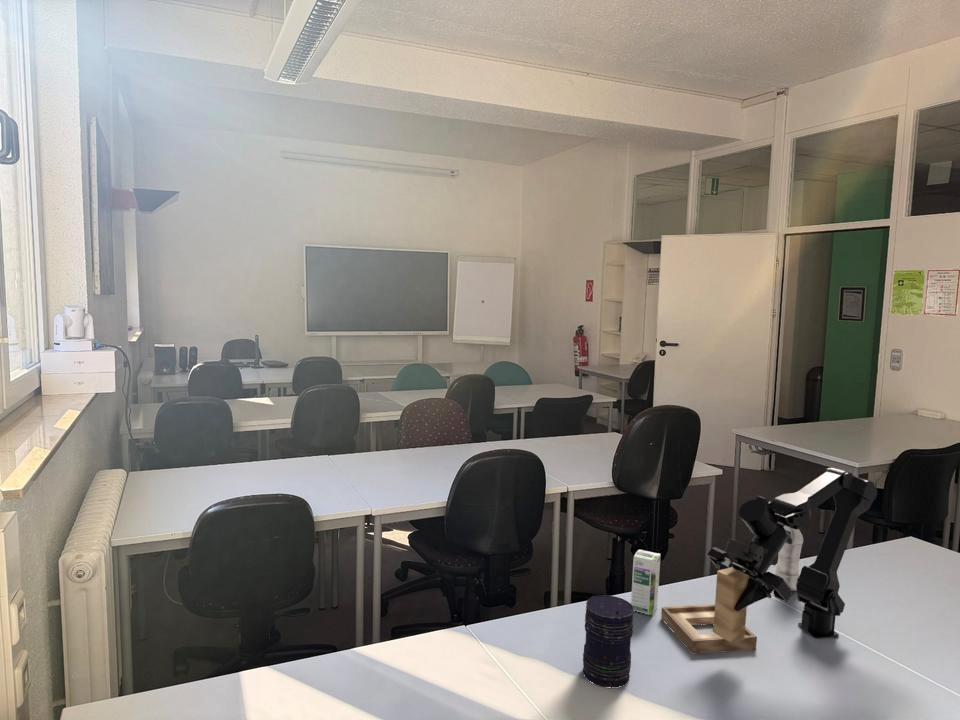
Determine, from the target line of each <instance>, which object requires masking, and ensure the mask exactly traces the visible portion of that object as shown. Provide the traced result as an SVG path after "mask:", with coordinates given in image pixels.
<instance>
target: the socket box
mask: <svg viewBox="0 0 960 720" xmlns="http://www.w3.org/2000/svg"><path fill="white" fill-rule="evenodd" d="M660 614H661V615H660V616H661V617H660V619H661V618H662V619H663V620H664V621H665V622H666V623H667V625H668V626H669V627H670V628H671V629H672V630H673V631H674V633H675V634H676V635H677V636H678V637H679V638H678V637H677V636H676V635H675V634H674V633H673V634H674V635H675V636H676V637H677V638H678V639H680V640H681V641H682V642H683V643H684V644H685V645H686V646H687V647H686V646H685V645H684V644H683V643H682V642H681V643H682V644H683V645H684V646H685V647H686V648H687V650H688V649H689V650H690V651H691V652H692V653H697V654H706V653H705V652H712V653H723V652H722V651H727V652H740V651H751V650H757V641H758V637H757V635H756V634H755V633H753V632H752V631H751V630H750V629H749V628H748V627H747V626H745V637H744V638H741V639H738V640H735V641H732V642H729V641H727V640H725V639H724V638H722V637H720V636H719V635H717V634H715V633H707V634H701V633H700V632H698V631H697V629H696V628H695V627H694V626H692V625H699V626H704V625H703V624H714V614H715V603H713V604H701V605H700V604H699V605H698V604H697V605H679V606H663V607H661V612H660ZM662 619H661V620H662ZM663 620H662V621H663ZM701 624H702V625H701ZM667 625H666V626H667ZM668 626H667V627H668ZM669 627H668V628H669ZM670 628H669V629H670ZM671 629H670V630H671ZM680 640H679V641H680ZM689 650H688V651H689ZM690 651H689V652H690ZM691 652H690V653H691ZM701 652H702V653H701ZM692 653H691V654H692Z"/></svg>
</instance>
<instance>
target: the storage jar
mask: <svg viewBox="0 0 960 720" xmlns="http://www.w3.org/2000/svg"><path fill="white" fill-rule="evenodd" d="M585 604H586V605H585V606H586V607H585V615H584V630H585V643H584V645H583V655H582V663H583V664H582V665H583V666H582V675H583V674H584V675H585V677H586V678H587V679H588V680H589V681H591V682H593V683H594V684H596V685H595V686H597V685H599V686H598V687H600V686H602V687H601V688H603V687H611V688H610V689H613V688H612V687H619V686H623V685H625V684H626V683H627V682H628V681H630V679H631V675H630V673H631V667H632V653H631V652H632V651H631V643H632V642H631V639H632V637H633V635H634V634H633V633H634V630H633V629H634V613H635V611H634V608H633V606H632V605H631V602H629V601H627V600H626V599H623V598H622V597H617V596H616V595H615V596H614V595H607V594H605V595H604V594H603V595H602V594H601V595H593V596H591V597H589V598H588V599H587V600H586V603H585ZM584 675H583V676H584ZM585 677H584V678H585ZM586 678H585V679H586ZM629 678H630V679H629ZM587 679H586V680H587ZM588 680H587V681H588ZM589 681H588V682H589ZM591 682H590V683H591ZM628 683H629V682H628ZM628 683H627V684H628ZM594 684H593V685H594ZM627 684H626V685H627ZM626 685H625V686H626ZM623 687H624V686H623Z"/></svg>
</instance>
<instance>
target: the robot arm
mask: <svg viewBox="0 0 960 720" xmlns="http://www.w3.org/2000/svg"><path fill="white" fill-rule="evenodd" d="M877 496H878V489H877V487H876V486H875V483H874V482H873V481H872V480H868V479H865V478H860V477H857V476H855V475H853V474H851V473H849V472H848V471H846V470H843V469H839V468H835V467H828V468H826V469H825V470H824V472H823V473H822V474H821V475H819V476H818V477H816V478H815V479H814V480H812V481H811V482H810V483H807V484H806V485H805V486H804V487H802V488H801V489H799V490H798V491H796V492H791V493H789V492H788V493H783V494H780V495H778V496H776V497H774V498H773V499H772V500H770V501H768V499H767V498H766V497H763V496H760V495H757V497H756V498H755V499H751V500H747V501H746V502H744V503H742V504H741V506H740V507H739V509H738V514H739V515H738V516H739V517H740V519H741V520H742V521H743V522H744V523H745V525H746V526H747V528H748V529H749V530H750V532H751V533H752V534H754V537H753V538H752V539H751V540H749V539H747V540H745V541H744V543H741V542H740V541H737V540H736V539H732V538H731V537H730V538H728V541H727V544H726V546H725V548H724V550H722V549H720V548H719V547H716V546H714V547H711V548H710V549H709V550H708V552H707V553H706V556H707V558H708V559H709V561H711V562H712V563H713V565H714V566H715V568H717V569H719V570H723V569H727V568H731V567H733V568H735V569H737V570H739V571H741V572H743V573H745V574H747V575H749V579H748V585H747V588H746V589H745V591H744V592H743V594H742V595H741V597H740V598H739V600H738V601H737V603H736V605H735V607H734V609H735V610H736V611H739V610H741V609H743V608H745V607H747V608H748V607H749V606H750V605H753V604H754V603H757V602H760V601H761V600H764V599H767V598H768V599H771V598H772V596H774V597H775V598H777V599H779V600H781V601H783V602H785V603H788V602H789V601H790V599H791V597H792V595H793V594H792V592H793V591H791V588H790V587H789V586H788V585H787V583H786V582H785V581H784V579H783V578H781V577H779V576H777V575H775V573H772V572H771V571H768V570H769V569H770V567H771V565H773V566H777V563H778V560H776V558H777V557H778V555H779V554H778V553H779V551H780V550H781V548H782V547H783V545H784V544H785V543H788V544H792V538H791V532H790V531H787V530H785V529H784V526H787V527H790V528H793V529H796V530H797V529H799V530H800V529H801V528H803V527H804V526H805V525H806V524H807V523H808V522H809V521H810V520H811V518H812V512H813V511H814V510H815V509H816V508H817V507H819V506H821V505H822V504H823V503H825V502H826V501H828V499H830V498H832V497H833V500H834V503H835V508H834V509H835V510H834V512H833V514H832V517H831V520H830V522H829V525H828V527H827V530H826V533H825V535H824V537H823V540H822V543H821V545H820V548H819V551H818V553H817V555H816V558H815V561H814V562H813V563H812V564H810V565H809V566H808V565H803V566H802V568H801V570H800V572H799V578H798V579H797V583H796V589H797V590H796V593H797V600H798V602H801V603H804V606H803V610H802V614H801V622H798V623H797V626H799V627H800V628H801V629H802V630H804V631H805V632H806V633H808V634H809V635H810V636H811V637H813V638H814V639H824V638H825V639H827V638H828V639H829V638H839V636H840V635H839V633H838V632H836V631H835V625H836V616H837V617H840V616H841V614H842V613H843V612H844V609H845V606H846V603H845V602H844V600H843V598H842V597H841V596H840V595H839V590H840V586H841V585H840V582H839V577H838V573H837V572H838V570H839V567H840V564H841V561H842V559H843V556H844V555H845V552H846V548H847V546H848V543H849V542H850V538H851V536H852V533H853V532H854V528H855V525H856V523H857V520H858V518H859V516H861V515H863V514H864V513H865V512H867V511H869V510H870V508H871V507H872V504H873V502H874V501H875V500H876V499H877ZM730 554H732V557H731V556H730ZM733 558H734V559H733ZM735 560H736V561H735ZM772 593H773V595H772Z"/></svg>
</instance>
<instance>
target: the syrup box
mask: <svg viewBox="0 0 960 720" xmlns="http://www.w3.org/2000/svg"><path fill="white" fill-rule="evenodd" d="M633 555H634V556H633V558H632V559H633V560H632V561H633V563H632V583H631V598H630V604H631V605H632V606H633V608H634V612H635V611H637V612H636V613H638V612H641V613H640V614H642V613H645V614H644V615H646V614H649V615H653V616H654V614H655V612H656V610H657V608H658V600H659V599H658V597H659V584H660V570H661V569H660V567H661V553H659V552H658V553H657V552H652V551H648V550H644V549H638V550H637V551H636V552H635V554H633ZM649 615H648V616H649Z"/></svg>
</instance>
